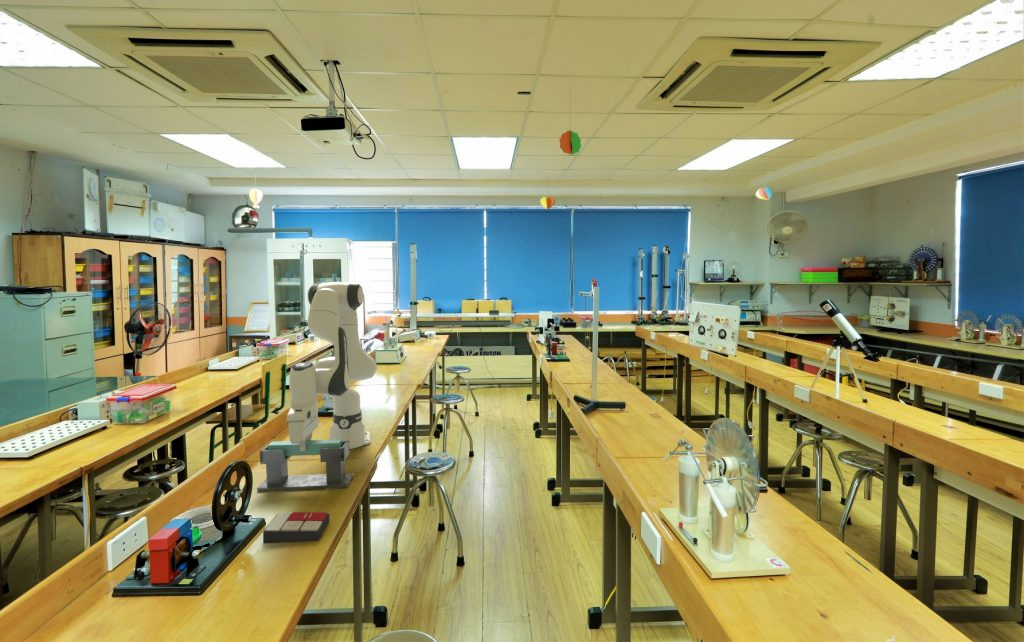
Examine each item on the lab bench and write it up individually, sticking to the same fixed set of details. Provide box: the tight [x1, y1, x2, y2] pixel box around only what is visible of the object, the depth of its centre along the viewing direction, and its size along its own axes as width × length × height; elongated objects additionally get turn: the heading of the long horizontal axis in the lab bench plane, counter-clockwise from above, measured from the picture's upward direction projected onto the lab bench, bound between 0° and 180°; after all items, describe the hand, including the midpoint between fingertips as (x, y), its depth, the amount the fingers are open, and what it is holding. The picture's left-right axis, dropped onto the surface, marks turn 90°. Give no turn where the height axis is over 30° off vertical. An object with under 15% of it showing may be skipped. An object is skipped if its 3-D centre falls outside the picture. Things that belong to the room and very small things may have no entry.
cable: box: [170, 504, 221, 543], centre depth 140 cm, size 18×18×6 cm
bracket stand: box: [256, 441, 355, 492], centre depth 175 cm, size 10×30×14 cm, turn 96°
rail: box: [267, 439, 342, 457], centre depth 174 cm, size 4×24×4 cm, turn 95°
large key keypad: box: [262, 511, 330, 544], centre depth 142 cm, size 11×4×15 cm
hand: (305, 447), depth 174 cm, fingers closed on rail, 4 cm apart
